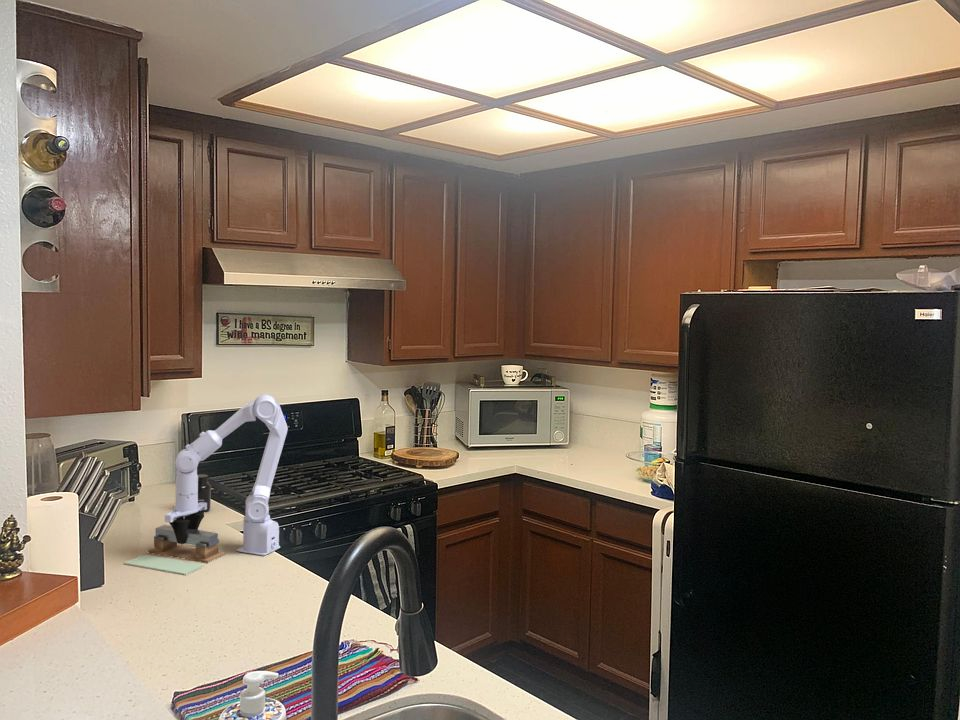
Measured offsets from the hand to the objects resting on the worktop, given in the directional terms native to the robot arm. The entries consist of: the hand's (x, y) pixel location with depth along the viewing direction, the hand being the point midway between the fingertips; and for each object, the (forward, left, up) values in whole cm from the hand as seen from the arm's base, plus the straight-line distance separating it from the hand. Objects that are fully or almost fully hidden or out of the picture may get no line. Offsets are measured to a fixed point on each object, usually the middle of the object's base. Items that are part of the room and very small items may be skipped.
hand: (186, 541), depth 202 cm
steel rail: (0, 0, 0) cm, 0 cm away
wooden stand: (0, 0, -4) cm, 4 cm away
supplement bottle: (+25, -36, -4) cm, 44 cm away
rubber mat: (-1, +10, -4) cm, 10 cm away
